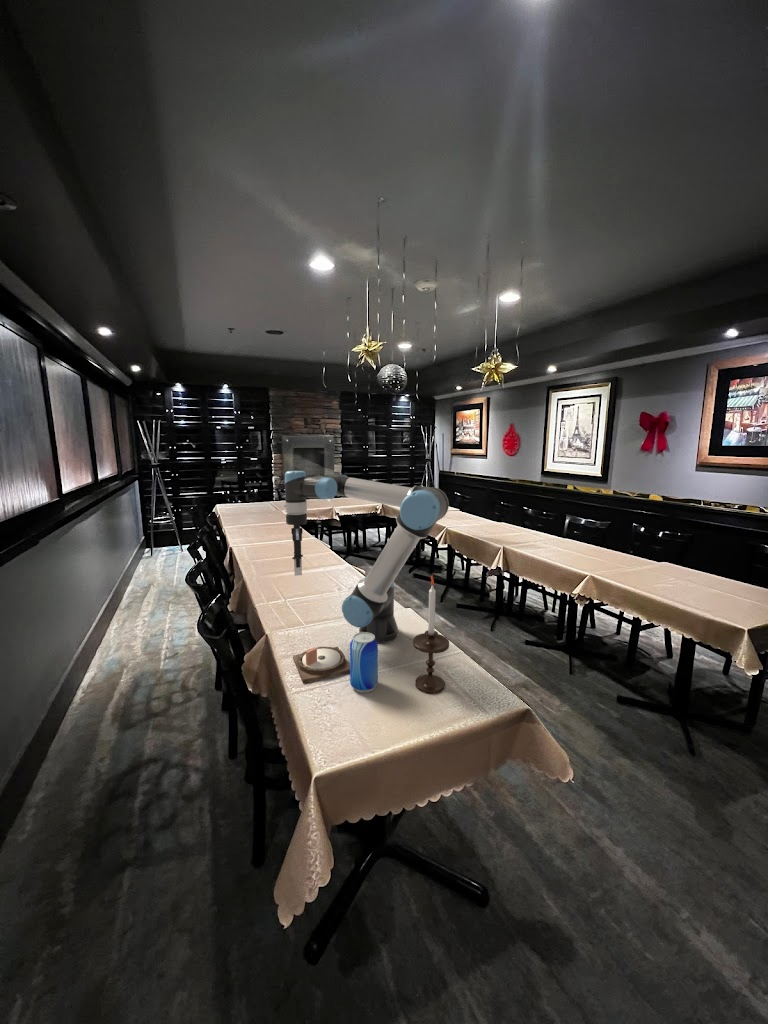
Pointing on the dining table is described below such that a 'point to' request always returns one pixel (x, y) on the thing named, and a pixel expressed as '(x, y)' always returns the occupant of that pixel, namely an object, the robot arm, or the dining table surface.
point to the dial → (321, 658)
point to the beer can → (363, 662)
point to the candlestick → (430, 650)
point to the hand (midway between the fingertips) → (298, 574)
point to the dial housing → (319, 674)
